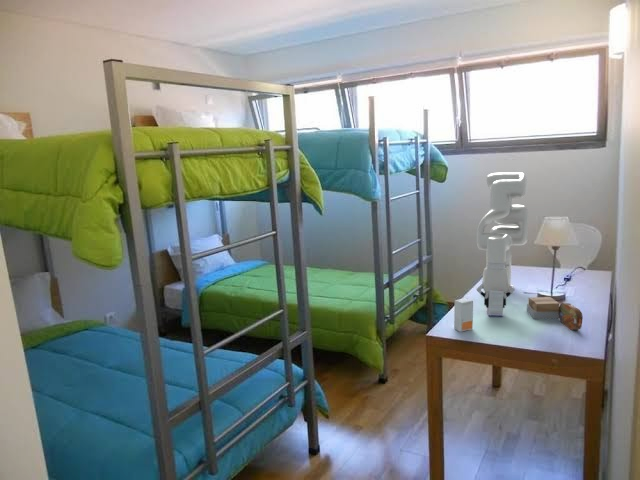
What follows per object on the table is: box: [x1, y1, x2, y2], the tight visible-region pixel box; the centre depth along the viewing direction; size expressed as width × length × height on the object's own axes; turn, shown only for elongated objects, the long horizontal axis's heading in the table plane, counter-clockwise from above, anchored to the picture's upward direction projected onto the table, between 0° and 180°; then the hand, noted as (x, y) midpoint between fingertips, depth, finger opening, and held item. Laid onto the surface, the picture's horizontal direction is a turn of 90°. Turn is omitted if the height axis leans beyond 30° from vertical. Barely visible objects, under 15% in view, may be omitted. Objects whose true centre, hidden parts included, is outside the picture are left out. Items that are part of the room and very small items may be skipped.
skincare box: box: [453, 297, 474, 333], centre depth 190 cm, size 6×4×12 cm
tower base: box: [526, 304, 560, 320], centre depth 203 cm, size 10×10×4 cm
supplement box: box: [486, 290, 504, 318], centre depth 205 cm, size 6×6×12 cm
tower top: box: [528, 296, 560, 312], centre depth 202 cm, size 9×9×4 cm
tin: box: [558, 302, 583, 331], centre depth 189 cm, size 15×3×8 cm, turn 178°
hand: (494, 306), depth 206 cm, fingers closed on supplement box, 5 cm apart
